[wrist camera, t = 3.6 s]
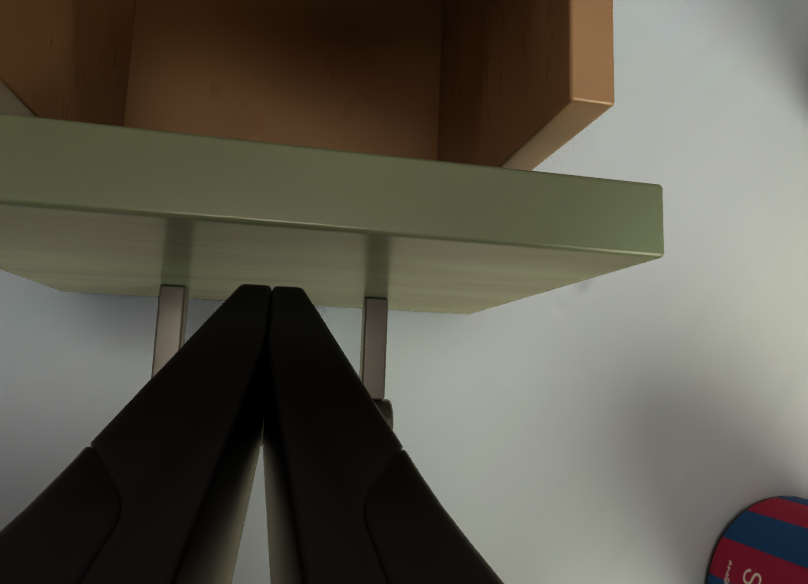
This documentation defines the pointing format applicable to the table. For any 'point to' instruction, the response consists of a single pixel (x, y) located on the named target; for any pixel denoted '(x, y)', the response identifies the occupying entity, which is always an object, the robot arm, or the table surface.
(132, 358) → the table surface
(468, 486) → the table surface
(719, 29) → the table surface
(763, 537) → the cup
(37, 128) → the cabinet drawer
